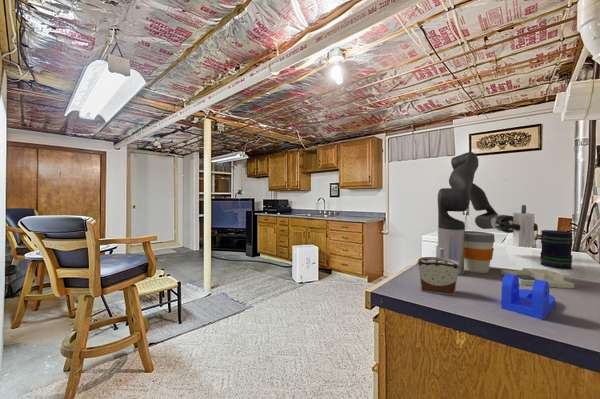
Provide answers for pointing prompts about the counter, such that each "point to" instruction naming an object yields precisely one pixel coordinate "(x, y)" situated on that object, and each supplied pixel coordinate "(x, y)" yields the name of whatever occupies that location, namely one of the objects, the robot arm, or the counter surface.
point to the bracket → (526, 297)
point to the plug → (524, 229)
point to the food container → (438, 274)
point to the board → (540, 277)
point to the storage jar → (556, 249)
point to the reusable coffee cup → (478, 251)
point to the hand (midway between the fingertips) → (527, 228)
